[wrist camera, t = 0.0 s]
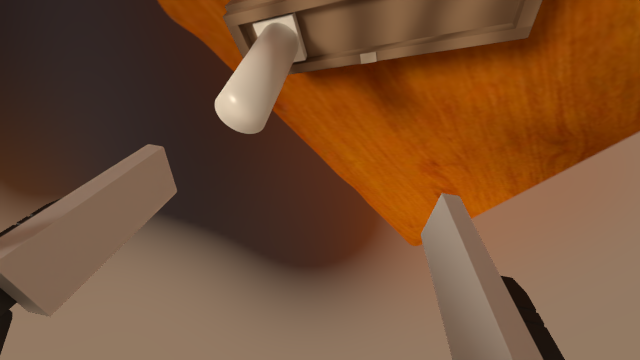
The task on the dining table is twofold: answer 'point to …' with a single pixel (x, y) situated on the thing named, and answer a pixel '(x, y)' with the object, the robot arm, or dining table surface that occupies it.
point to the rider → (261, 74)
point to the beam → (383, 27)
